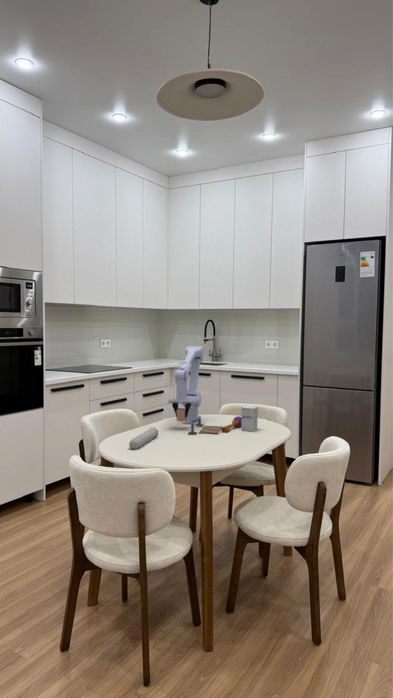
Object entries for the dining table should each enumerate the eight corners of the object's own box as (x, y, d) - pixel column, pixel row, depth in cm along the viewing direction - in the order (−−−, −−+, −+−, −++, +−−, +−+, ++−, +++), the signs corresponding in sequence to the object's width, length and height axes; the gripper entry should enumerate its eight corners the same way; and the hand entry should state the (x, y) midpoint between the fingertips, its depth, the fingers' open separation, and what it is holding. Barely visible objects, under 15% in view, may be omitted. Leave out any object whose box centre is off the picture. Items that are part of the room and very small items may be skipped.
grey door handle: (196, 424, 266) (196, 415, 266) (203, 425, 265) (203, 415, 265) (187, 434, 243) (187, 424, 242) (195, 435, 242) (195, 424, 242)
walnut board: (204, 426, 261) (204, 425, 261) (222, 427, 259) (222, 426, 259) (198, 433, 246) (198, 432, 246) (217, 434, 244) (218, 433, 244)
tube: (139, 442, 213) (160, 429, 236) (128, 437, 214) (150, 425, 238) (135, 453, 213) (156, 439, 237) (125, 448, 215) (147, 435, 239)
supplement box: (240, 430, 253) (241, 407, 252) (244, 427, 259) (244, 404, 259) (254, 431, 250) (254, 408, 249) (257, 429, 257) (258, 405, 256)
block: (178, 419, 258) (178, 408, 258) (186, 419, 257) (186, 408, 257) (176, 420, 253) (176, 409, 253) (184, 421, 253) (184, 410, 252)
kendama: (217, 424, 249) (235, 415, 266) (220, 435, 249) (237, 425, 266) (227, 424, 246) (244, 414, 263) (229, 435, 246) (246, 425, 263)
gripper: (166, 392, 252) (166, 417, 253) (193, 393, 249) (193, 419, 250) (169, 390, 259) (169, 415, 260) (196, 391, 256) (195, 416, 257)
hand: (181, 417), depth 255 cm, fingers closed on block, 4 cm apart
